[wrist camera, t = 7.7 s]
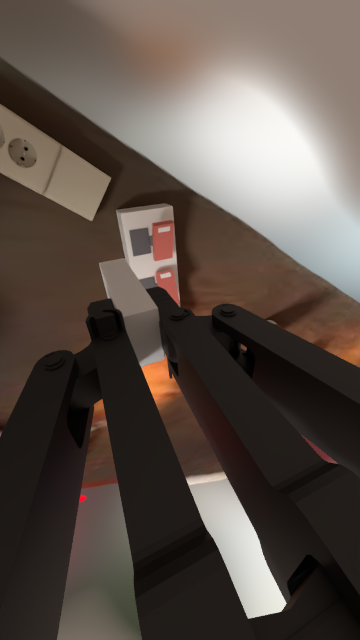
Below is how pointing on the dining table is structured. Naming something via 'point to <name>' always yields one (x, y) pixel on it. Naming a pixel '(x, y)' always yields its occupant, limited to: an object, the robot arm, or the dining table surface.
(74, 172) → the electrical outlet
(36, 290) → the dining table surface
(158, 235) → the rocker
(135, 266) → the power strip
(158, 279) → the rocker
